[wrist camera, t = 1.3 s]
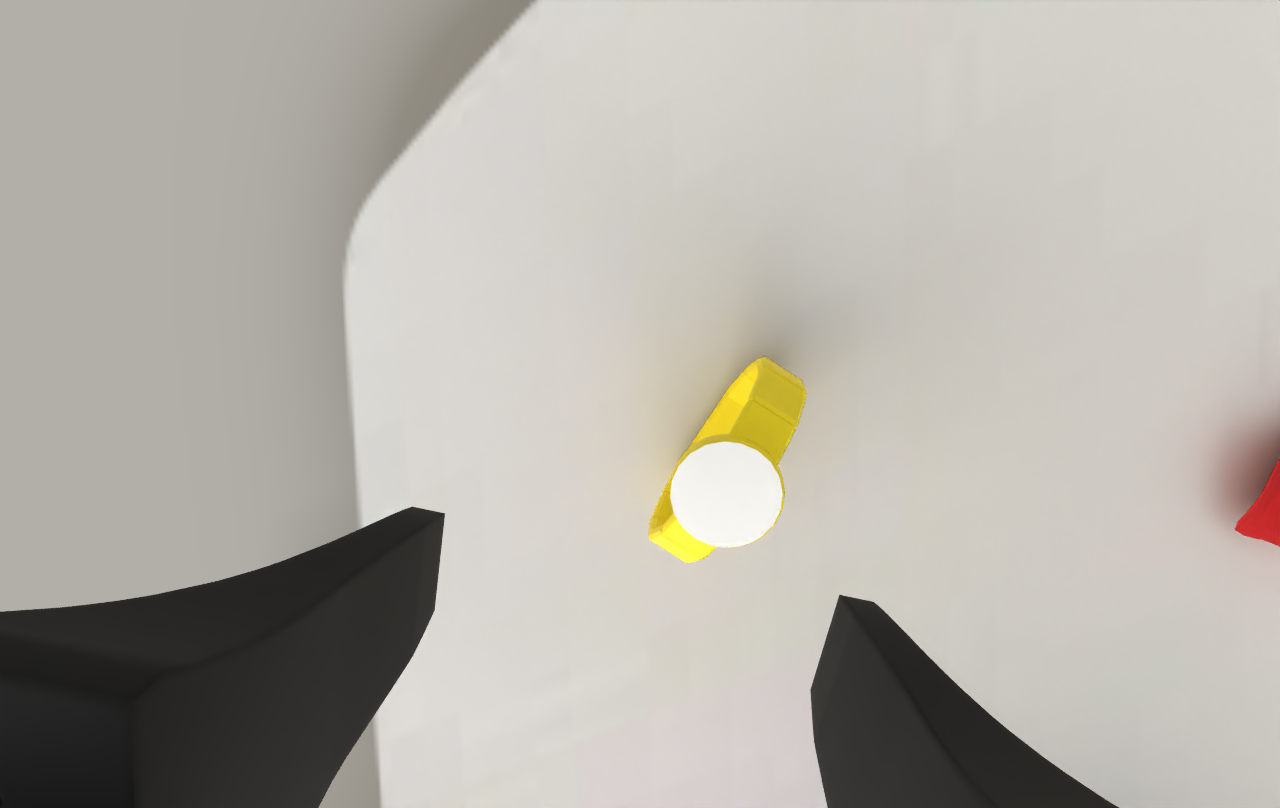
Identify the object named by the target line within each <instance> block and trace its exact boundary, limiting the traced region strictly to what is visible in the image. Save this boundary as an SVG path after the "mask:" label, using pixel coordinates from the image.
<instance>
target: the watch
mask: <svg viewBox="0 0 1280 808" xmlns="http://www.w3.org/2000/svg"><path fill="white" fill-rule="evenodd" d="M805 400H806V390H805V387H804V385H803V383H802V380H801V379H799V378H798V377H796V376H795V375H793V374H791V373H790V372H788V371H787V370H785V369H784V368H782V367H781V366H779V365H777V364H776V363H774V362H773V361H771V360H770V359H768V358H767V357H761V358H758V359H757V360H756V361H754V362H753V363H751V364H750V365H748V366H747V368H745V369H744V371H743V372H742V373H741V374H740V375H739V376H738V378H737V379H736V380H735V381H734V382H733V383H732V385H731V386H730V387H729V388H728V389H727V391H726V393H725V394H724V396H723V397H722V399H721V400H720V402H719V403H718V405H717V406H716V408H715V409H714V411H713V412H712V414H711V415H710V417H709V418H708V420H707V421H706V423H705V424H704V426H703V427H702V429H701V430H700V432H699V433H698V435H697V436H696V438H695V439H694V441H693V442H692V444H691V445H690V447H689V448H688V449H687V451H686V452H685V453H684V454H683V455H682V456H681V457H680V458H679V460H678V462H677V464H676V467H675V469H674V471H673V473H672V475H671V477H670V479H669V481H668V483H667V484H666V486H665V488H664V490H663V492H662V495H661V496H660V498H659V500H658V503H657V505H656V508H655V510H654V512H653V515H652V517H651V519H650V523H649V539H650V540H651V541H652V542H654V543H656V544H657V545H659V546H660V547H662V548H664V549H665V550H667V551H668V552H670V553H672V554H673V555H675V556H676V557H678V558H680V559H681V560H683V561H684V562H686V563H690V562H693V561H697V560H701V559H704V558H705V557H707V556H708V555H709V554H710V553H711V552H712V551H713V550H714V549H715V548H716V547H726V548H732V547H738V546H743V545H747V544H750V543H752V542H753V541H755V540H757V539H759V538H761V537H763V536H764V535H765V534H766V533H767V532H768V531H769V530H770V529H771V528H772V527H773V526H774V525H775V523H776V521H777V519H778V517H779V516H780V514H781V512H782V509H783V503H784V496H785V490H784V485H783V480H782V475H781V472H780V469H779V467H778V463H779V461H780V459H781V457H782V456H783V454H784V452H785V450H786V448H787V446H788V444H789V442H790V440H791V438H792V436H793V434H794V432H795V428H796V427H797V426H798V423H799V419H800V416H801V413H802V410H803V406H804V403H805Z"/></svg>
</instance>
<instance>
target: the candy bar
mask: <svg viewBox="0 0 1280 808" xmlns="http://www.w3.org/2000/svg"><path fill="white" fill-rule="evenodd" d="M1235 530H1236V531H1238V532H1239V533H1241V534H1243V535H1245V536H1248V537H1252V538H1256V539H1261V540H1265V541H1267V542H1270V543H1273V544H1276V545H1278V546H1280V460H1279V461H1278V462H1277V464H1276V466H1275V468H1274V470H1273V472H1272V474H1271V476H1270V478H1269V480H1268V482H1267V485H1266V487H1265V489H1264V490H1263V492H1262V493H1261V495H1260V496H1259V498H1258V499H1257V501H1256V502H1255V503H1254V504H1253V506H1252V507H1251V508H1250V509H1249V510H1248V512H1247V513H1246V514H1245V515H1244V516H1243V517H1242V518H1241V519H1240V520H1239V521H1238V523H1237V525H1236V528H1235Z"/></svg>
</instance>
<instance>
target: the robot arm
mask: <svg viewBox="0 0 1280 808" xmlns="http://www.w3.org/2000/svg"><path fill="white" fill-rule="evenodd" d="M444 517H445V513H440V512H435V511H430V510H425V509H420V508H416V507H410V508H407V509H405V510H402V511H400V512H397V513H395V514H393V515H390V516H388V517H386V518H384V519H381V520H379V521H377V522H375V523H373V524H370V525H368V526H366V527H364V528H362V529H359V530H357V531H355V532H353V533H350V534H348V535H346V536H344V537H341V538H339V539H337V540H335V541H332V542H330V543H327V544H325V545H322V546H320V547H317V548H315V549H312V550H310V551H307V552H305V553H302V554H299V555H297V556H294V557H292V558H289V559H287V560H284V561H281V562H279V563H275V564H273V565H270V566H267V567H264V568H261V569H258V570H255V571H251V572H247V573H244V574H241V575H237V576H234V577H230V578H227V579H223V580H220V581H215V582H211V583H207V584H202V585H198V586H193V587H188V588H184V589H179V590H175V591H170V592H165V593H161V594H156V595H151V596H146V597H139V598H133V599H126V600H120V601H113V602H105V603H97V604H89V605H81V606H72V607H62V608H50V609H49V608H48V609H34V610H20V611H6V612H0V808H318V807H319V805H320V803H321V801H322V799H323V798H324V796H325V794H326V792H327V790H328V788H329V786H330V784H331V782H332V780H333V779H334V777H335V775H336V774H337V772H338V770H339V769H340V767H341V765H342V764H343V762H344V760H345V759H346V757H347V755H348V754H349V752H350V751H351V750H352V748H353V746H354V745H355V743H356V742H357V740H358V739H359V737H360V736H361V734H362V733H363V731H364V730H365V728H366V727H367V725H368V724H369V722H370V721H371V719H372V718H373V716H374V715H375V713H376V712H377V710H378V709H379V707H380V706H381V704H382V703H383V701H384V700H385V698H386V697H387V695H388V694H389V692H390V691H391V689H392V687H393V686H394V684H395V683H396V681H397V680H398V678H399V677H400V675H401V674H402V672H403V671H404V669H405V667H406V666H407V664H408V663H409V661H410V660H411V658H412V656H413V654H414V652H415V650H416V648H417V646H418V644H419V642H420V640H421V638H422V636H423V634H424V632H425V630H426V627H427V625H428V623H429V621H430V619H431V617H432V615H433V612H434V610H435V601H436V591H437V582H438V573H439V563H440V554H441V545H442V535H443V526H444ZM811 703H812V720H813V732H814V743H815V748H816V753H817V758H818V763H819V768H820V773H821V778H822V783H823V787H824V792H825V797H826V802H827V806H828V808H1118V807H1117V806H1115V805H1113V804H1112V803H1110V802H1109V801H1107V800H1105V799H1104V798H1102V797H1101V796H1099V795H1098V794H1096V793H1095V792H1093V791H1092V790H1090V789H1089V788H1087V787H1086V786H1084V785H1083V784H1081V783H1080V782H1078V781H1077V780H1075V779H1074V778H1072V777H1071V776H1069V775H1068V774H1066V773H1065V772H1063V771H1062V770H1061V769H1059V768H1058V767H1056V766H1055V765H1054V764H1052V763H1051V762H1049V761H1048V760H1047V759H1045V758H1044V757H1042V756H1041V755H1040V754H1039V753H1037V752H1036V751H1035V750H1033V749H1032V748H1031V747H1030V746H1028V745H1027V744H1026V743H1024V742H1023V741H1022V740H1021V739H1019V738H1018V737H1017V736H1015V735H1014V734H1013V733H1012V732H1010V731H1009V730H1008V729H1006V728H1005V727H1004V726H1003V725H1002V724H1001V723H999V722H998V721H997V720H996V719H995V718H993V717H992V716H991V715H990V714H989V713H988V712H987V711H985V710H984V709H983V708H982V707H981V706H980V705H979V704H978V703H977V702H975V701H974V700H973V699H972V698H971V697H970V696H969V695H968V694H967V693H965V692H964V691H963V690H962V689H961V688H960V687H959V686H958V685H957V684H956V683H955V682H954V681H953V680H952V679H951V678H950V677H949V676H948V675H947V674H945V673H944V672H943V671H942V670H941V669H940V668H939V667H938V666H937V665H936V664H935V663H934V662H933V661H932V660H931V659H930V658H929V657H928V656H927V655H926V654H925V652H924V651H923V650H922V649H921V648H920V647H919V646H918V645H917V644H916V643H915V642H914V641H913V640H912V639H911V638H910V637H909V636H908V635H907V634H906V633H905V632H904V631H903V630H902V629H901V628H900V627H899V626H898V625H897V624H896V623H895V622H894V621H893V620H892V619H891V618H890V617H889V616H888V615H887V614H886V613H885V612H884V611H883V610H882V609H881V608H880V607H879V606H878V605H877V604H875V603H874V602H871V601H866V600H861V599H857V598H852V597H847V596H842V595H839V598H838V602H837V605H836V608H835V611H834V615H833V618H832V621H831V625H830V628H829V631H828V634H827V638H826V641H825V644H824V647H823V651H822V654H821V657H820V661H819V664H818V667H817V670H816V674H815V677H814V680H813V684H812V687H811Z"/></svg>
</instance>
